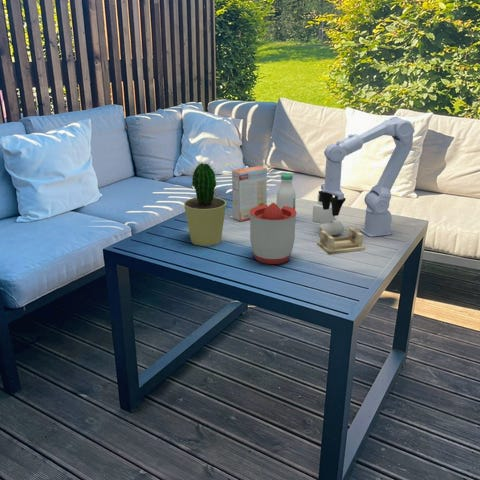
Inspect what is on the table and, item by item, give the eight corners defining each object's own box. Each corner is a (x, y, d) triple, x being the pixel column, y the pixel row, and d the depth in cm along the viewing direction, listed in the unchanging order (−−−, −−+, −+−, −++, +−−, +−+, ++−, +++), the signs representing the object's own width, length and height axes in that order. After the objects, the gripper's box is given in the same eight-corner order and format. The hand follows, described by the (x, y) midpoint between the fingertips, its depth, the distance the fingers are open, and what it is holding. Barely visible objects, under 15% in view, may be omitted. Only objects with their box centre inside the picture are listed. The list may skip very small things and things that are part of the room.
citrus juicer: (296, 249, 182) (298, 195, 175) (292, 269, 167) (295, 211, 159) (253, 246, 185) (254, 193, 178) (245, 265, 169) (246, 208, 162)
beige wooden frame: (317, 244, 187) (317, 230, 185) (351, 239, 191) (352, 226, 189) (329, 254, 178) (330, 239, 176) (364, 249, 182) (366, 235, 180)
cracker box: (258, 212, 221) (259, 165, 213) (267, 216, 216) (268, 167, 208) (231, 218, 213) (231, 169, 206) (239, 222, 209) (239, 172, 201)
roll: (336, 232, 199) (337, 220, 197) (343, 236, 194) (343, 223, 193) (318, 234, 197) (318, 222, 195) (323, 238, 192) (324, 225, 190)
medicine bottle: (335, 219, 212) (337, 191, 208) (328, 224, 206) (330, 196, 202) (319, 216, 216) (320, 189, 211) (312, 221, 210) (313, 193, 206)
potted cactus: (235, 240, 191) (235, 161, 179) (205, 251, 180) (203, 168, 169) (207, 230, 200) (205, 154, 189) (177, 240, 190) (173, 161, 179)
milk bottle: (289, 226, 204) (291, 178, 197) (272, 223, 208) (273, 175, 201) (297, 221, 210) (299, 173, 203) (281, 217, 214) (282, 171, 207)
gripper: (314, 173, 192) (312, 207, 197) (332, 183, 179) (330, 219, 184) (331, 172, 194) (329, 205, 199) (350, 181, 181) (347, 217, 186)
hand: (330, 212), depth 191 cm, fingers open, 7 cm apart
